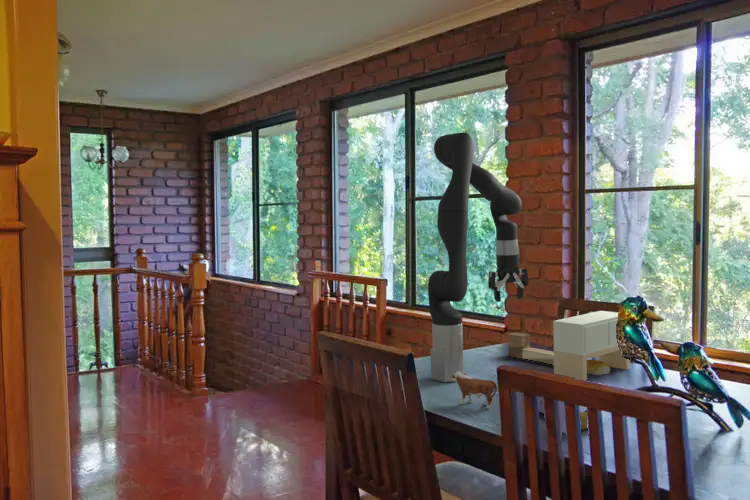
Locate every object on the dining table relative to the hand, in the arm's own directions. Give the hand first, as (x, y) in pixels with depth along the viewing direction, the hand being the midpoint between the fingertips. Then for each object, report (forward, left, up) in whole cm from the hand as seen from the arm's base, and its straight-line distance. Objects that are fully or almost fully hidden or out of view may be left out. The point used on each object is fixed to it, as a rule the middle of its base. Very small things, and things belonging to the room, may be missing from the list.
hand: (508, 300), depth 212 cm
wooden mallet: (+6, -8, -21) cm, 23 cm away
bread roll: (+6, -29, -21) cm, 36 cm away
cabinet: (+4, -29, -21) cm, 36 cm away
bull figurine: (-46, -25, -21) cm, 57 cm away
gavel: (-40, -47, -21) cm, 66 cm away
